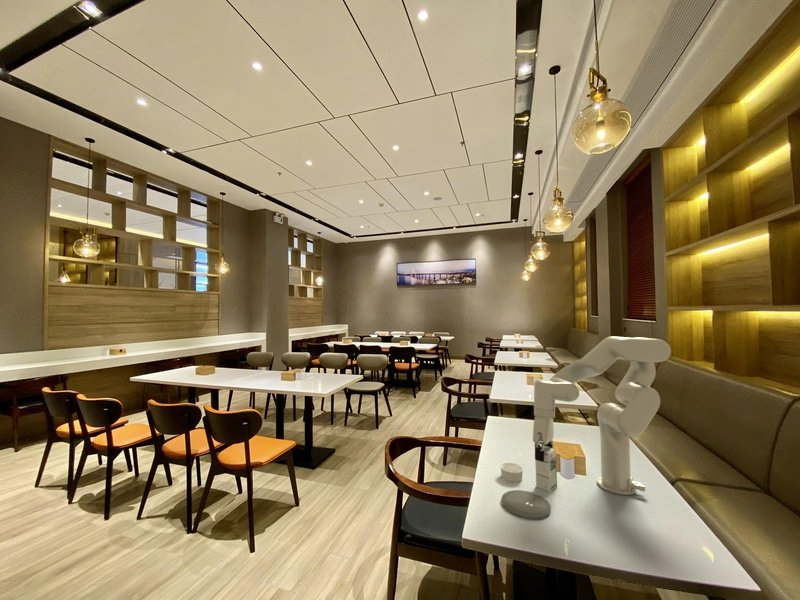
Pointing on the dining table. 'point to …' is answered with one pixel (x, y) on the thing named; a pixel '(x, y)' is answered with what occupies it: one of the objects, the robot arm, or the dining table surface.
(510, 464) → the ramekin
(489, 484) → the dining table surface
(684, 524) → the dining table surface
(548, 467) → the syrup box
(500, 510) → the dining table surface
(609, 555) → the dining table surface
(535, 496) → the grey plate
